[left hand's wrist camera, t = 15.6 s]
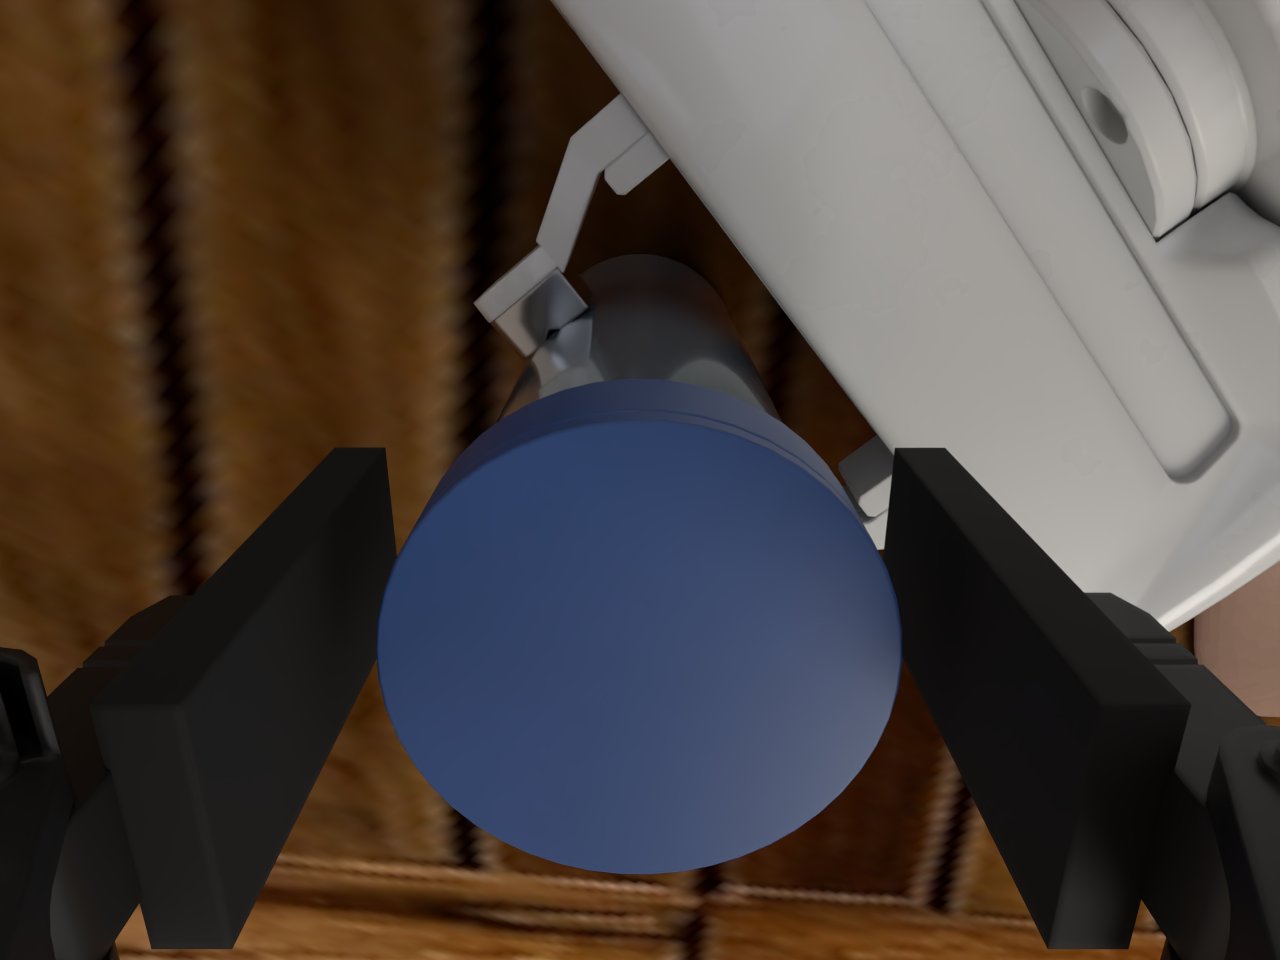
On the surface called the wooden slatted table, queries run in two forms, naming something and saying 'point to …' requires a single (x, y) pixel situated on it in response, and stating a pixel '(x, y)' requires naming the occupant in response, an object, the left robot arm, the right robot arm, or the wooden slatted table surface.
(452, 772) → the lid
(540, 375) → the jar
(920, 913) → the wooden slatted table surface
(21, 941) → the left robot arm
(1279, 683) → the anatomical model
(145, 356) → the wooden slatted table surface
